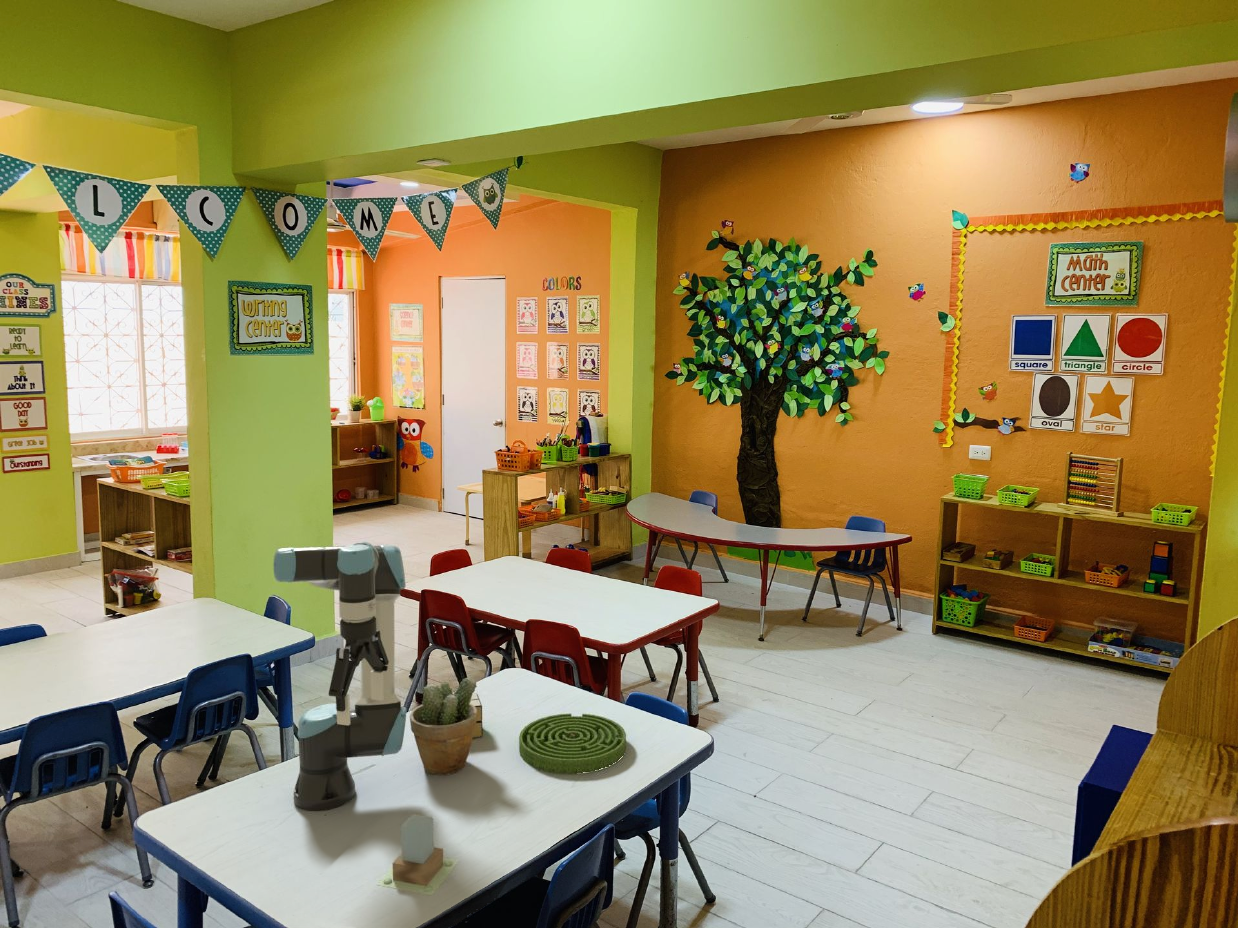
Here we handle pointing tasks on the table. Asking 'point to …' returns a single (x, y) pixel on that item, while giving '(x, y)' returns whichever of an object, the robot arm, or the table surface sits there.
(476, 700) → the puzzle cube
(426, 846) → the column brick
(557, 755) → the maze
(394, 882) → the plate
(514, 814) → the table surface
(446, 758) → the potted plant
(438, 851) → the base brick
